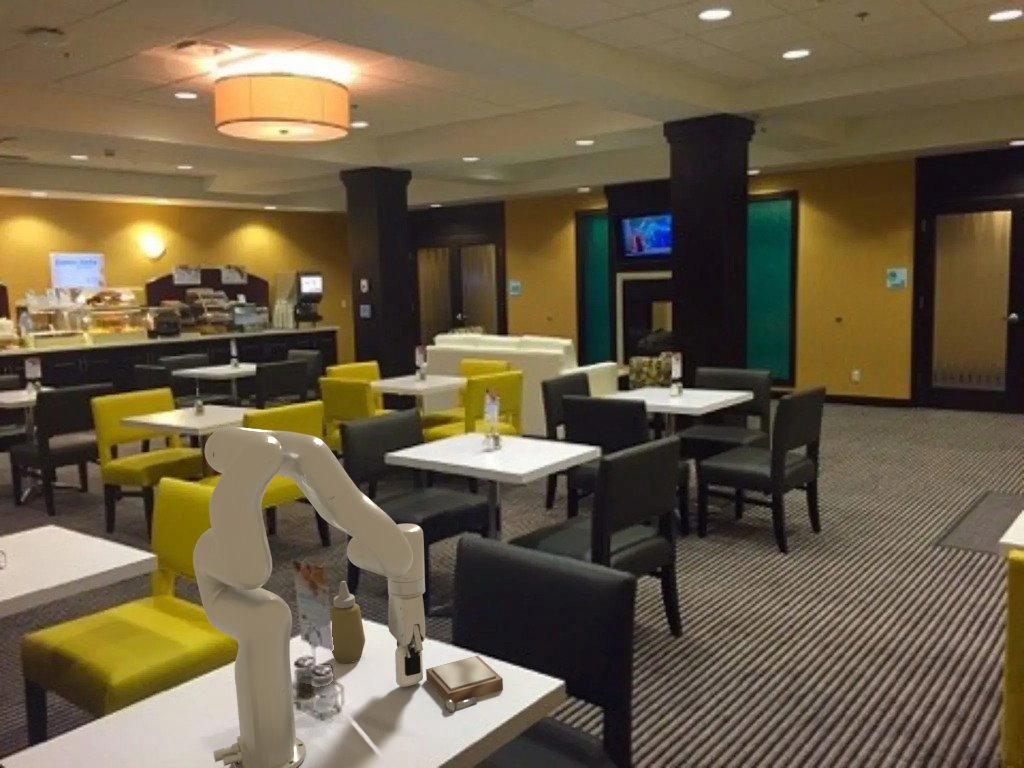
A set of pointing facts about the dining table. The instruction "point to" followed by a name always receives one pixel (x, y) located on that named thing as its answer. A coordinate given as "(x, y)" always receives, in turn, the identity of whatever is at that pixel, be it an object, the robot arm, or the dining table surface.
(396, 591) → the robot arm
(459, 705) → the loose bolt
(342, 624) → the squeeze bottle
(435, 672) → the picture frame
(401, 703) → the dining table surface
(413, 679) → the eye dropper bottle
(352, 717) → the dining table surface
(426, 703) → the dining table surface
